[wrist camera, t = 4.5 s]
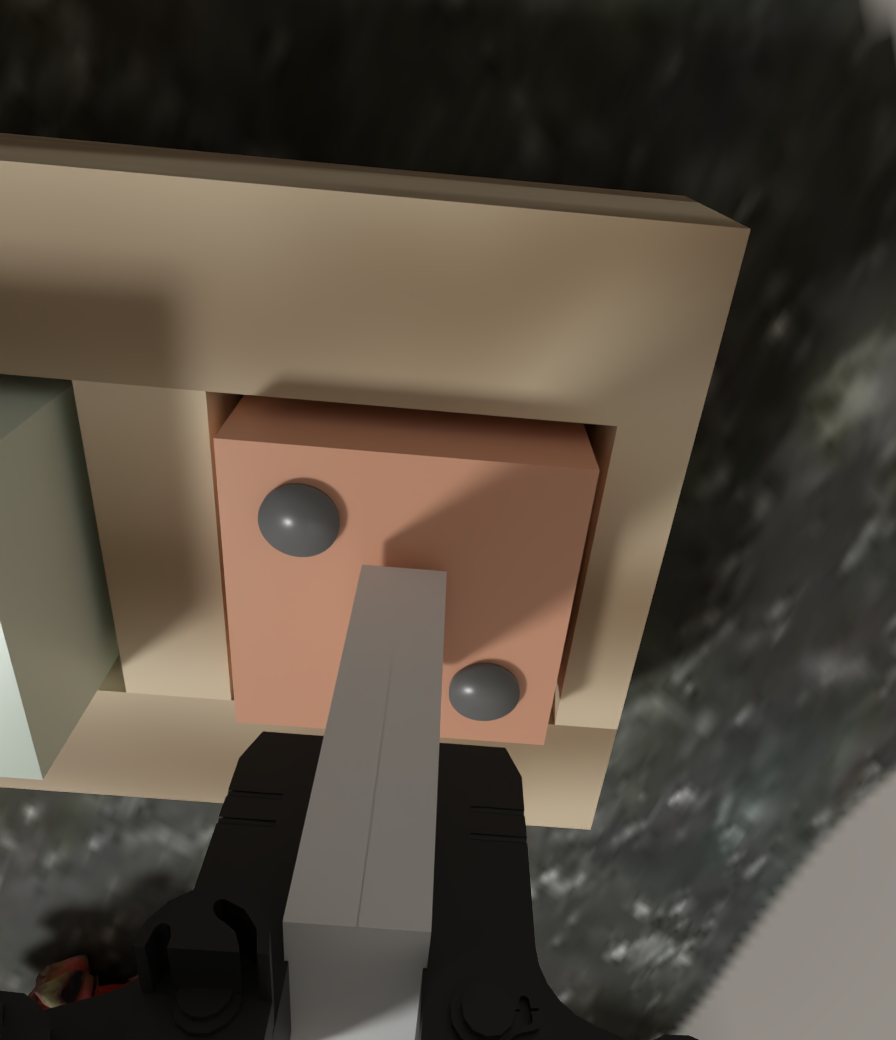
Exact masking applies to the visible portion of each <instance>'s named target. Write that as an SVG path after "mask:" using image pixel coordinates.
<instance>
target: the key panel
mask: <svg viewBox="0 0 896 1040" xmlns="http://www.w3.org/2000/svg"><path fill="white" fill-rule="evenodd" d="M750 230H751V229H750V228H748V227H746V226H744V225H742V224H740V223H738V222H736V221H734V220H732V219H730V218H728V217H726V216H724V215H722V214H720V213H718V212H716V211H714V210H712V209H710V208H708V207H706V206H704V205H702V204H700V203H698V202H696V201H694V200H692V199H690V198H688V197H686V196H681V195H670V194H659V193H648V192H637V191H627V190H616V189H605V188H594V187H583V186H572V185H561V184H550V183H540V182H529V181H518V180H507V179H496V178H485V177H474V176H463V175H453V174H442V173H431V172H420V171H409V170H398V169H387V168H377V167H366V166H355V165H344V164H333V163H322V162H311V161H300V160H290V159H279V158H268V157H257V156H246V155H235V154H224V153H213V152H203V151H192V150H181V149H170V148H159V147H148V146H137V145H127V144H116V143H105V142H94V141H83V140H72V139H61V138H50V137H40V136H29V135H18V134H7V133H0V374H7V375H19V376H31V377H43V378H54V379H66V380H72V384H73V390H74V395H75V401H76V407H77V413H78V418H79V424H80V430H81V436H82V441H83V447H84V453H85V458H86V464H87V470H88V476H89V481H90V487H91V493H92V499H93V504H94V510H95V516H96V521H97V527H98V533H99V539H100V544H101V550H102V556H103V562H104V567H105V573H106V579H107V585H108V590H109V596H110V602H111V607H112V613H113V619H114V625H115V630H116V636H117V642H118V648H119V653H120V654H119V656H118V657H117V659H116V661H115V662H114V664H113V666H112V667H111V669H110V671H109V672H108V674H107V676H106V677H105V679H104V680H103V682H102V684H101V685H100V687H99V689H98V690H97V692H96V694H95V695H94V697H93V699H92V700H91V702H90V703H89V705H88V707H87V708H86V710H85V712H84V713H83V715H82V717H81V718H80V720H79V721H78V723H77V725H76V726H75V728H74V730H73V731H72V733H71V735H70V736H69V738H68V740H67V741H66V743H65V744H64V746H63V748H62V749H61V751H60V753H59V754H58V756H57V758H56V759H55V761H54V763H53V764H52V766H51V767H50V769H49V771H48V772H47V774H46V776H45V777H44V779H43V780H36V779H22V778H9V777H0V787H7V788H21V789H35V790H48V791H62V792H76V793H90V794H104V795H118V796H132V797H145V798H159V799H173V800H187V801H201V802H215V803H224V800H225V797H226V796H227V795H228V789H229V786H230V783H231V780H232V777H233V774H234V771H235V768H236V765H237V762H238V759H239V757H240V756H241V755H242V754H243V753H244V752H245V751H246V749H247V748H248V747H249V746H250V745H251V744H252V743H253V742H254V741H255V739H256V738H257V737H258V736H259V735H260V734H261V733H262V732H263V731H266V732H279V733H292V734H305V735H319V736H324V733H325V729H320V728H307V727H293V726H280V725H266V724H253V723H240V722H236V715H235V702H234V690H233V677H232V665H231V652H230V640H229V627H228V615H227V602H226V590H225V577H224V565H223V552H222V540H221V527H220V514H219V502H218V489H217V477H216V464H215V452H214V439H213V438H214V437H215V435H216V434H217V433H218V431H219V430H220V428H221V427H222V426H223V424H224V423H225V421H226V420H227V419H228V417H229V416H230V414H231V413H232V412H233V410H234V409H235V407H236V406H237V405H238V403H239V402H240V400H241V399H242V398H243V396H244V395H255V396H267V397H279V398H290V399H302V400H314V401H326V402H338V403H350V404H361V405H373V406H385V407H397V408H409V409H420V410H432V411H444V412H456V413H468V414H479V415H491V416H503V417H515V418H527V419H538V420H550V421H562V422H574V423H583V424H584V427H585V430H586V433H587V435H588V438H589V441H590V444H591V447H592V450H593V453H594V456H595V458H596V461H597V464H598V467H599V470H600V471H599V476H598V481H597V486H596V491H595V496H594V501H593V506H592V510H591V515H590V520H589V525H588V530H587V535H586V540H585V545H584V550H583V555H582V560H581V565H580V570H579V574H578V579H577V584H576V589H575V594H574V599H573V604H572V609H571V614H570V619H569V624H568V629H567V634H566V638H565V643H564V648H563V653H562V658H561V663H560V668H559V673H558V678H557V683H556V688H555V693H554V698H553V702H552V707H551V712H550V717H549V722H548V727H547V732H546V737H545V742H544V745H534V744H521V743H507V742H494V741H481V740H467V739H454V738H441V737H440V741H439V743H451V744H464V745H477V746H490V747H503V748H506V750H507V751H508V753H509V755H510V757H511V758H512V760H513V762H514V764H515V766H516V767H517V769H518V771H519V773H520V775H521V776H522V785H523V798H524V816H525V823H526V825H533V826H547V827H561V828H575V829H589V830H590V829H591V826H592V822H593V818H594V814H595V811H596V807H597V803H598V799H599V796H600V792H601V788H602V784H603V781H604V777H605V773H606V769H607V766H608V762H609V758H610V754H611V751H612V747H613V743H614V739H615V736H616V732H617V728H618V724H619V721H620V717H621V713H622V709H623V706H624V702H625V698H626V694H627V691H628V687H629V683H630V679H631V676H632V672H633V668H634V665H635V661H636V657H637V653H638V650H639V646H640V642H641V638H642V635H643V631H644V627H645V623H646V620H647V616H648V612H649V608H650V605H651V601H652V597H653V593H654V590H655V586H656V582H657V578H658V575H659V571H660V567H661V563H662V560H663V556H664V552H665V548H666V545H667V541H668V537H669V533H670V530H671V526H672V522H673V518H674V515H675V511H676V507H677V504H678V500H679V496H680V492H681V489H682V485H683V481H684V477H685V474H686V470H687V466H688V462H689V459H690V455H691V451H692V447H693V444H694V440H695V436H696V432H697V429H698V425H699V421H700V417H701V414H702V410H703V406H704V402H705V399H706V395H707V391H708V387H709V384H710V380H711V376H712V372H713V369H714V365H715V361H716V357H717V354H718V350H719V346H720V343H721V339H722V335H723V331H724V328H725V324H726V320H727V316H728V313H729V309H730V305H731V301H732V298H733V294H734V290H735V286H736V283H737V279H738V275H739V271H740V268H741V264H742V260H743V256H744V253H745V249H746V245H747V241H748V238H749V234H750Z"/></svg>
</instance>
